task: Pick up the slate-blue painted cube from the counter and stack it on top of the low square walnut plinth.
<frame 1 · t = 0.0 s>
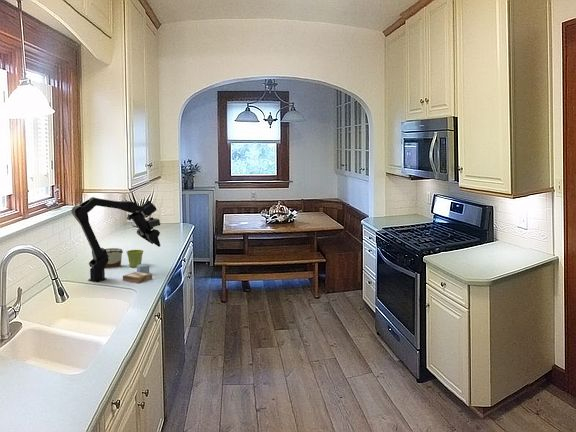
hand: (156, 244, 273), 15 cm above the countertop, tool tilted 35°, fingers open, 9 cm apart
plant pot: (135, 266, 287), on the countertop
base: (137, 279, 258), on the countertop
food container: (111, 267, 285), on the countertop
block: (143, 274, 269), on the countertop
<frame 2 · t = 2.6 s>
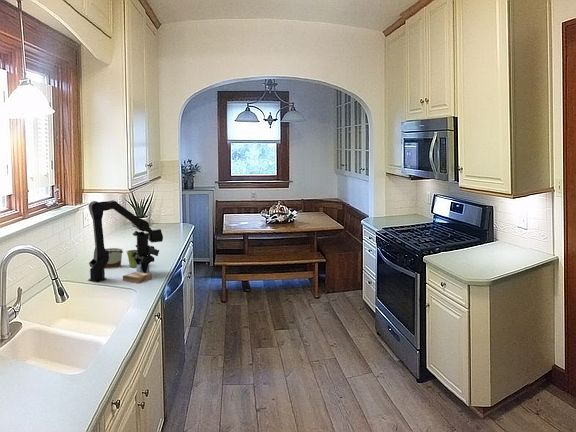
hand: (143, 272, 269), 1 cm above the countertop, tool pointing down, fingers closed on block, 5 cm apart
block: (143, 274, 269), on the countertop, touching gripper
everything else where it was.
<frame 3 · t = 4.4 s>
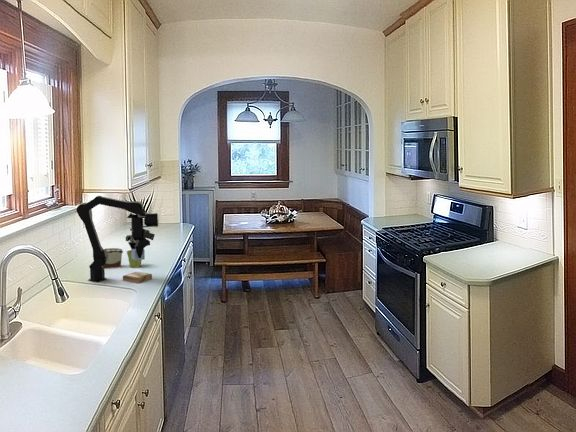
hand: (137, 257, 258), 11 cm above the countertop, tool pointing down, fingers closed on block, 5 cm apart
block: (138, 259, 258), point 10 cm above the countertop, touching gripper
everything else where it was.
when the fingers open (5 cm above the countertop, at t = 6.5 s): block drops 1 cm, resting on base.
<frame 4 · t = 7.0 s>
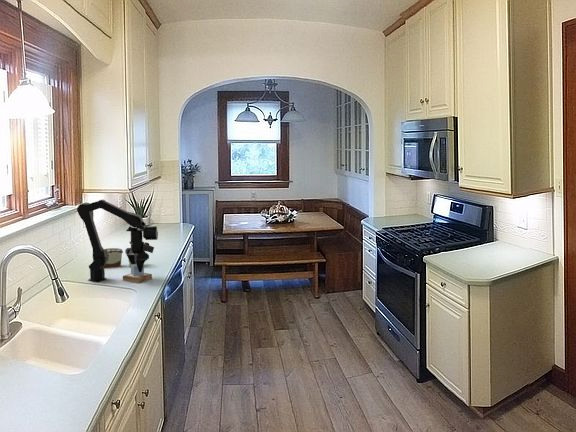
hand: (137, 270, 257), 5 cm above the countertop, tool pointing down, fingers open, 9 cm apart
block: (137, 274, 258), point 3 cm above the countertop, touching base
everything else where it was.
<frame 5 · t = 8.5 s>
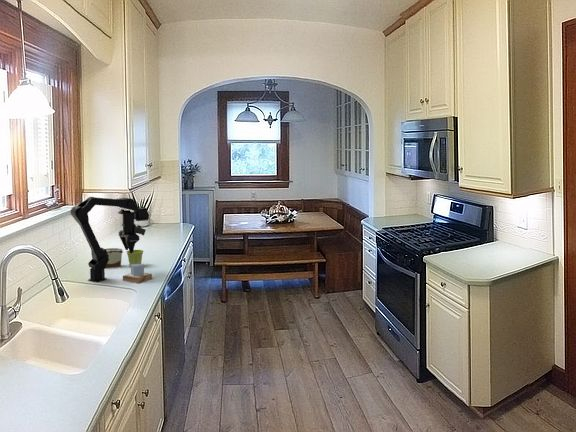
hand: (129, 251, 266), 12 cm above the countertop, tool pointing down, fingers open, 9 cm apart
nothing on the countertop moved.
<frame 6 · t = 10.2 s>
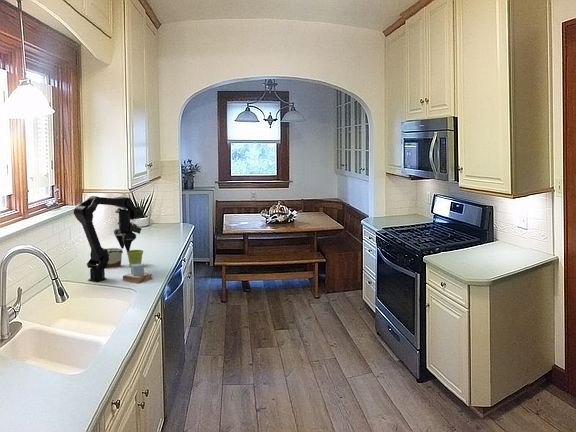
hand: (125, 249, 270), 12 cm above the countertop, tool pointing down, fingers open, 9 cm apart
nothing on the countertop moved.
at the end: block 0.0 cm off-centre on the base, point 2.6 cm above the base's base; block tilted 0°; the gripper is holding nothing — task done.
